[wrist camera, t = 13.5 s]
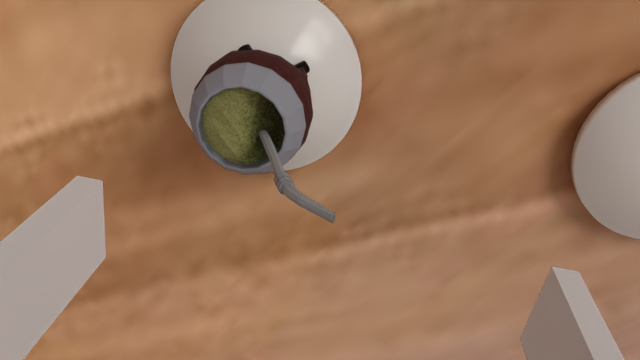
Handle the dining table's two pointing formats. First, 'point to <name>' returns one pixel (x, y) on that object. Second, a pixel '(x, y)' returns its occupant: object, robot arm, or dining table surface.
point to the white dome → (611, 160)
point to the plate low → (286, 41)
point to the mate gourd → (255, 117)
